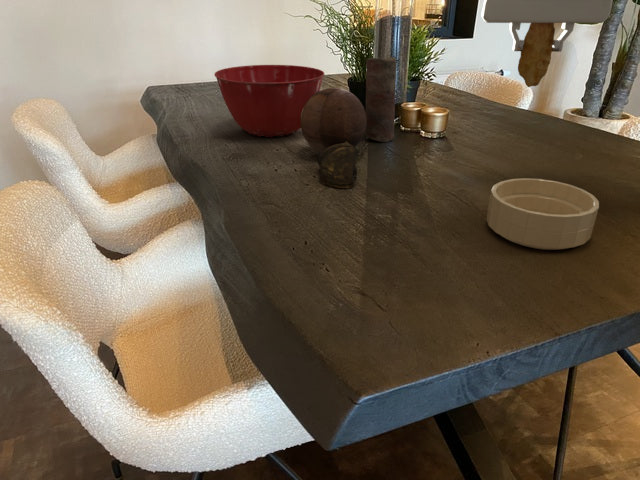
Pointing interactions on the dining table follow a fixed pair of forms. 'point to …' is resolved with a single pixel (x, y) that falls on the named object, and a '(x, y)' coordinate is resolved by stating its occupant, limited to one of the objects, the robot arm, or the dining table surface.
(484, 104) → the dining table surface
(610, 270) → the dining table surface
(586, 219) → the bowl
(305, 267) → the dining table surface
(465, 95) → the dining table surface
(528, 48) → the stone tool
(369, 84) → the candle
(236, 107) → the mixing bowl
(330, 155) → the seashell
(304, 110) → the wooden sphere
